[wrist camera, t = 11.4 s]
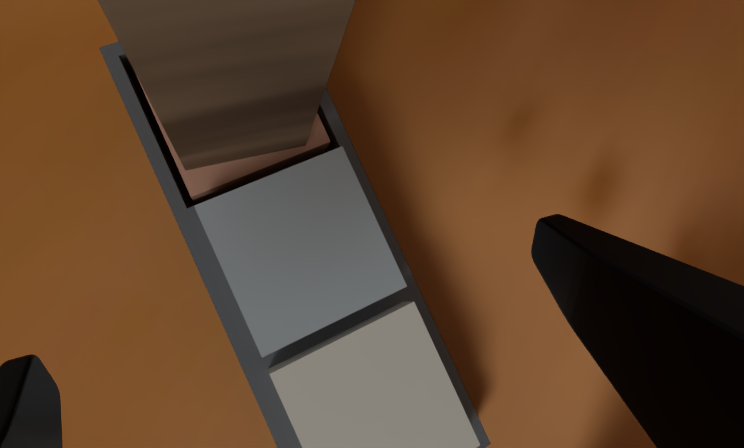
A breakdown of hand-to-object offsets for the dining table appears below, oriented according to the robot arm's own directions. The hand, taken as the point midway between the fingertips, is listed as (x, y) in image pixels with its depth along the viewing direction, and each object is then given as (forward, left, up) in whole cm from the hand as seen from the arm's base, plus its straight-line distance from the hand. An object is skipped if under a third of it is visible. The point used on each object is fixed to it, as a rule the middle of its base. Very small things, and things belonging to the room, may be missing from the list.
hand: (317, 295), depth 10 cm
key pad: (0, -2, -13) cm, 13 cm away
